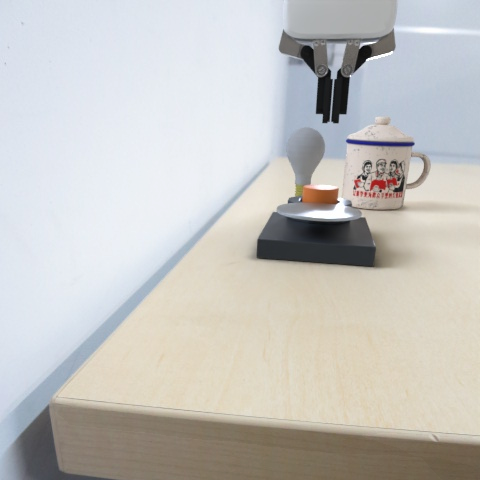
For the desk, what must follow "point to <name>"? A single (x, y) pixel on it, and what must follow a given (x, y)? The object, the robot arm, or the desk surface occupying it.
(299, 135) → the light bulb
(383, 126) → the teacup with lid
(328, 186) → the short orange cylinder
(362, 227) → the scale
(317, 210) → the weigh plate
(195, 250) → the desk surface
